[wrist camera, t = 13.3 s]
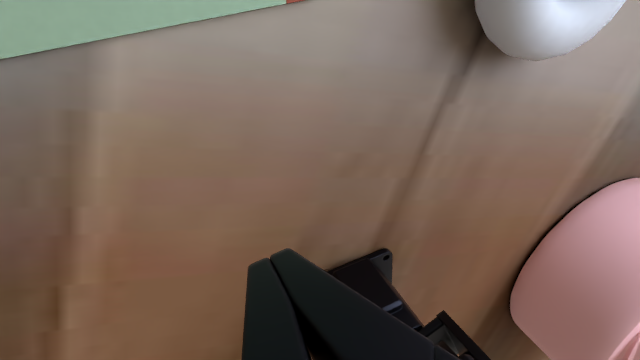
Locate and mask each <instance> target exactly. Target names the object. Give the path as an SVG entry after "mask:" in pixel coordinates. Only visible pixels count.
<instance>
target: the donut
mask: <svg viewBox="0 0 640 360" xmlns="http://www.w3.org/2000/svg"><path fill="white" fill-rule="evenodd" d="M625 1H626V0H475V11H476V13H477V15H478V18H479V20H480V23H481V25H482V27H483V30H484V32H485V34H486V36H487V38H488V39H489V40H490V41H491V42H493V43H494V44H495V45H496V46H497V47H498V48H499V49H500V50H501V51H502V52H504V53H505V54H507V55H509V56H512V57H517V58H521V59H525V60H531V61H539V60H544V59H548V58H553V57H557V56H561V55H565V54H567V53H568V52H570V51H572V50H573V49H575V48H577V47H578V46H580V45H582V44H584V43H585V42H587V41H588V40H590V39H591V38H592V37H594V36H595V35H596V34H597V33H598V32H599V31H600V30H601V29H602V28H603V27H604V26H605V25H606V24H607V23H608V22H609V21H610V20H611V19H612V18H613V17H614V15H615V14H616V13H617V11H618V10H619V9H620V7H621V6H622V5H623V4H624V2H625Z"/></svg>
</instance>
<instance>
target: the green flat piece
mask: <svg viewBox="0 0 640 360" xmlns="http://www.w3.org/2000/svg"><path fill="white" fill-rule="evenodd" d="M298 1H303V0H0V59H4V58H10V57H15V56H20V55H25V54H30V53H35V52H40V51H46V50H51V49H56V48H61V47H66V46H71V45H76V44H82V43H87V42H92V41H97V40H102V39H107V38H112V37H118V36H123V35H128V34H133V33H138V32H143V31H148V30H153V29H159V28H164V27H169V26H174V25H179V24H184V23H189V22H195V21H200V20H205V19H210V18H215V17H220V16H225V15H231V14H236V13H241V12H246V11H251V10H256V9H261V8H267V7H272V6H277V5H282V4H288V3H293V2H298Z"/></svg>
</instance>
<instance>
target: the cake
mask: <svg viewBox="0 0 640 360" xmlns="http://www.w3.org/2000/svg"><path fill="white" fill-rule="evenodd" d="M510 311H511V315H512V318H513V320H514V322H515V323H516V324H517V325H518V327H519V328H520V329H521V330H522V331H523V332H524V333H525V334H526V335H527V336H528V337H529V338H530V339H531V340H532V341H533V342H534V343H535V344H536V345H537V346H538V347H539V348H540V349H541V350H542V351H543V352H544V353H545V354H546V355H547V356H548V357H549V358H550V359H551V360H640V178H631V179H627V180H623V181H619V182H616V183H614V184H611V185H609V186H607V187H605V188H603V189H602V190H600V191H598V192H597V193H595V194H594V195H592V196H591V197H589V198H588V199H586V200H585V201H583V202H582V203H580V204H579V205H578V206H577V207H575V208H574V209H573V210H572V211H571V212H570V213H569V214H568V215H566V216H565V217H564V218H563V219H562V220H561V221H560V222H559V223H558V224H557V225H556V226H555V227H554V228H553V229H552V230H551V231H550V232H549V233H548V234H547V235H546V236H545V238H544V239H543V240H542V241H541V243H540V244H539V245H538V247H537V248H536V249H535V251H534V252H533V253H532V255H531V256H530V257H529V259H528V260H527V262H526V263H525V265H524V266H523V268H522V270H521V272H520V274H519V276H518V278H517V281H516V283H515V285H514V288H513V290H512V293H511V298H510Z"/></svg>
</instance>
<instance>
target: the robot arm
mask: <svg viewBox="0 0 640 360" xmlns="http://www.w3.org/2000/svg"><path fill="white" fill-rule="evenodd" d="M436 316H437V317H436V318H435V319H434V320H432V321H431V322H430V323H428V324H427V325H426V326H424V325H423V324H422V323H421V321H420V320H419V319H418V317H417V316H416V315H415V314H414V312H413V311H412V310H411V308H410V307H409V306H408V305H407V303H406V302H405V301H404V299H403V298H402V297H401V296H400V294H399V293H398V292H397V290H396V289H395V288H394V287H393V285H392V253H391V252H390V251H389V250H388V249H386V248H385V249H382V250H379V251H377V252H374V253H372V254H370V255H367V256H365V257H362V258H360V259H357V260H355V261H352V262H350V263H347V264H345V265H343V266H340V267H338V268H335V269H333V270H330V271H328V272H325V271H324V270H322V269H321V268H319V267H318V266H316V265H315V264H313V263H312V262H310V261H308V260H307V259H305V258H304V257H302V256H301V255H299V254H298V253H296V252H295V251H293V250H292V249H289V248H286V249H284V250H282V251H279V252H277V253H275V254H273V255H271V257H270V259H269V258H264V259H262V260H259V261H257V262H255V263H253V264H251V265H250V266H249V268H248V276H247V290H246V304H245V318H244V332H243V346H242V360H491V359H490V358H489V357H488V356H487V355H486V354H485V353H484V352H483V351H482V350H481V349H480V348H479V347H478V346H477V345H476V344H475V343H474V342H473V340H472V339H471V338H470V337H469V336H468V335H467V334H466V333H465V332H464V331H463V330H462V329H461V328H460V327H459V326H458V325H457V324H456V323H455V322H454V321H453V320H452V319H451V317H450V316H449V315H448V314H447V313H446V312H445V311H444V310H443V311H442V312H440V313H439V314H438V315H436ZM457 354H459V355H460V356H459V357H458V356H457ZM310 355H311V356H310ZM311 358H312V359H311Z"/></svg>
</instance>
